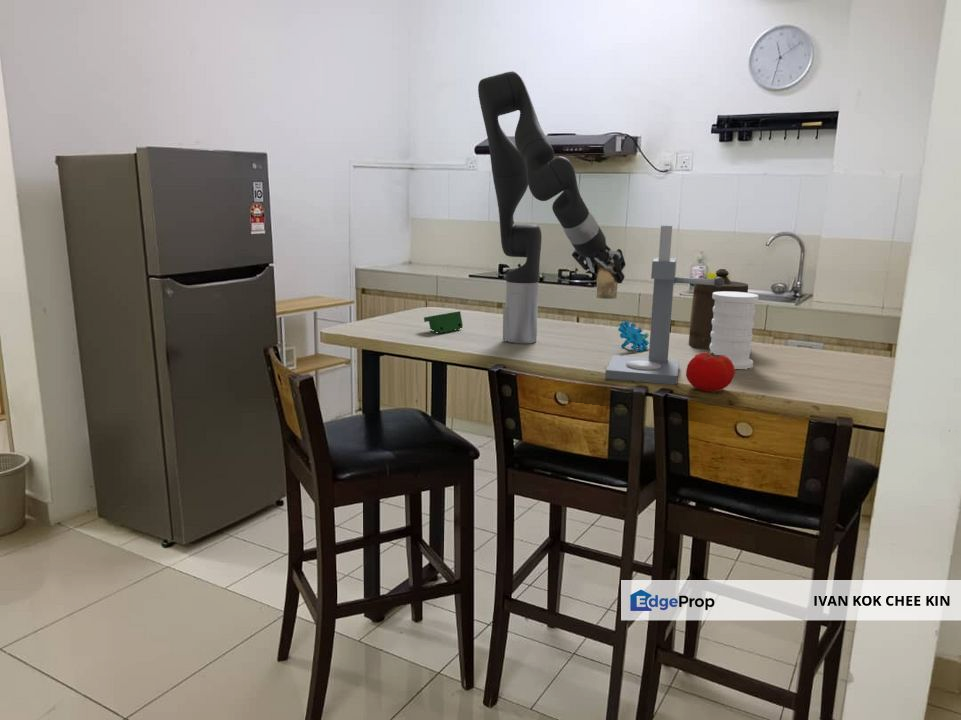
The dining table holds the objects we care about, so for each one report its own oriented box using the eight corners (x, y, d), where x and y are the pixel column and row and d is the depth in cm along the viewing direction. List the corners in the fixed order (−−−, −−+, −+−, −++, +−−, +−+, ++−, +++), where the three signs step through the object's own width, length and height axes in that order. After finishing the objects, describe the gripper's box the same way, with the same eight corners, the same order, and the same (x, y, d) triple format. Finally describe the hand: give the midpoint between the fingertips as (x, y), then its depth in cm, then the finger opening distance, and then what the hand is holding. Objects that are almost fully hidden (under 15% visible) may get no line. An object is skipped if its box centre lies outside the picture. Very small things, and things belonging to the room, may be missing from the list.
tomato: (678, 384, 165) (681, 348, 163) (723, 384, 165) (726, 348, 163) (693, 395, 155) (696, 357, 154) (740, 395, 156) (743, 357, 154)
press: (605, 378, 169) (613, 225, 161) (613, 362, 184) (622, 222, 177) (716, 388, 162) (731, 228, 154) (715, 371, 178) (728, 225, 170)
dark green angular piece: (447, 342, 228) (449, 315, 231) (461, 340, 225) (463, 312, 227) (420, 332, 220) (423, 304, 222) (434, 330, 216) (437, 301, 218)
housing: (595, 298, 179) (596, 256, 176) (597, 296, 183) (599, 255, 181) (615, 299, 177) (617, 256, 175) (617, 296, 182) (619, 255, 180)
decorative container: (699, 359, 191) (705, 290, 187) (743, 359, 191) (750, 291, 187) (712, 369, 180) (719, 297, 176) (759, 370, 179) (767, 297, 176)
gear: (630, 348, 195) (615, 318, 200) (617, 360, 199) (602, 331, 204) (658, 349, 201) (643, 320, 206) (644, 361, 205) (630, 332, 210)
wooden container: (733, 341, 215) (740, 267, 210) (749, 352, 201) (757, 272, 196) (683, 340, 216) (689, 266, 211) (695, 350, 202) (701, 271, 197)
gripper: (552, 242, 174) (582, 289, 184) (600, 244, 164) (629, 294, 174) (567, 219, 176) (596, 267, 187) (615, 220, 166) (643, 270, 177)
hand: (612, 279), depth 181 cm, fingers closed on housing, 5 cm apart
